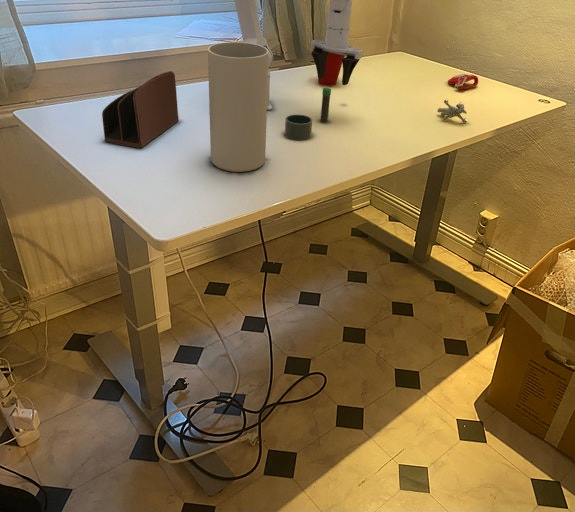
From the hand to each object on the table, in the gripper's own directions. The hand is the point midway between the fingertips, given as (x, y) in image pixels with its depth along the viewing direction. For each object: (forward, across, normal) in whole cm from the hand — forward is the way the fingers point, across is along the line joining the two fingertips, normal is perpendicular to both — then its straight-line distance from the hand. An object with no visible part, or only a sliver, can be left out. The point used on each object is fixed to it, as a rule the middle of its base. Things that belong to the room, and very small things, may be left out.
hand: (332, 81), depth 148 cm
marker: (+10, 0, +3) cm, 11 cm away
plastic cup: (+10, +17, -26) cm, 33 cm away
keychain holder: (+8, -18, -56) cm, 59 cm away
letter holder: (+11, +30, +41) cm, 52 cm away
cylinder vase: (+10, +1, +39) cm, 40 cm away
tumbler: (+10, 0, +16) cm, 19 cm away
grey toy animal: (+10, -26, -22) cm, 36 cm away
